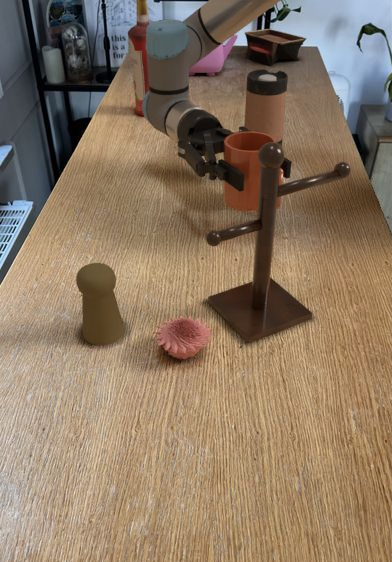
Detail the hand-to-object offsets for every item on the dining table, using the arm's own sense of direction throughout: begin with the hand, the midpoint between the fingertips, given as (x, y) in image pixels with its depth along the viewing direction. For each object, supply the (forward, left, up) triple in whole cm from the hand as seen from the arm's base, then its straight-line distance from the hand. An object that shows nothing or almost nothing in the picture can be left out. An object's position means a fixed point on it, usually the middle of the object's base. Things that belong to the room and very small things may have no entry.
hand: (265, 176), depth 92 cm
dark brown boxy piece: (+9, -110, -13) cm, 111 cm away
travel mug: (+3, -27, -13) cm, 30 cm away
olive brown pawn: (+19, +27, -13) cm, 36 cm away
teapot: (+28, -94, -13) cm, 99 cm away
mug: (+2, -2, -6) cm, 6 cm away
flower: (+7, +29, -13) cm, 33 cm away
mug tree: (-3, +17, -13) cm, 22 cm away
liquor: (+35, -58, -13) cm, 69 cm away
